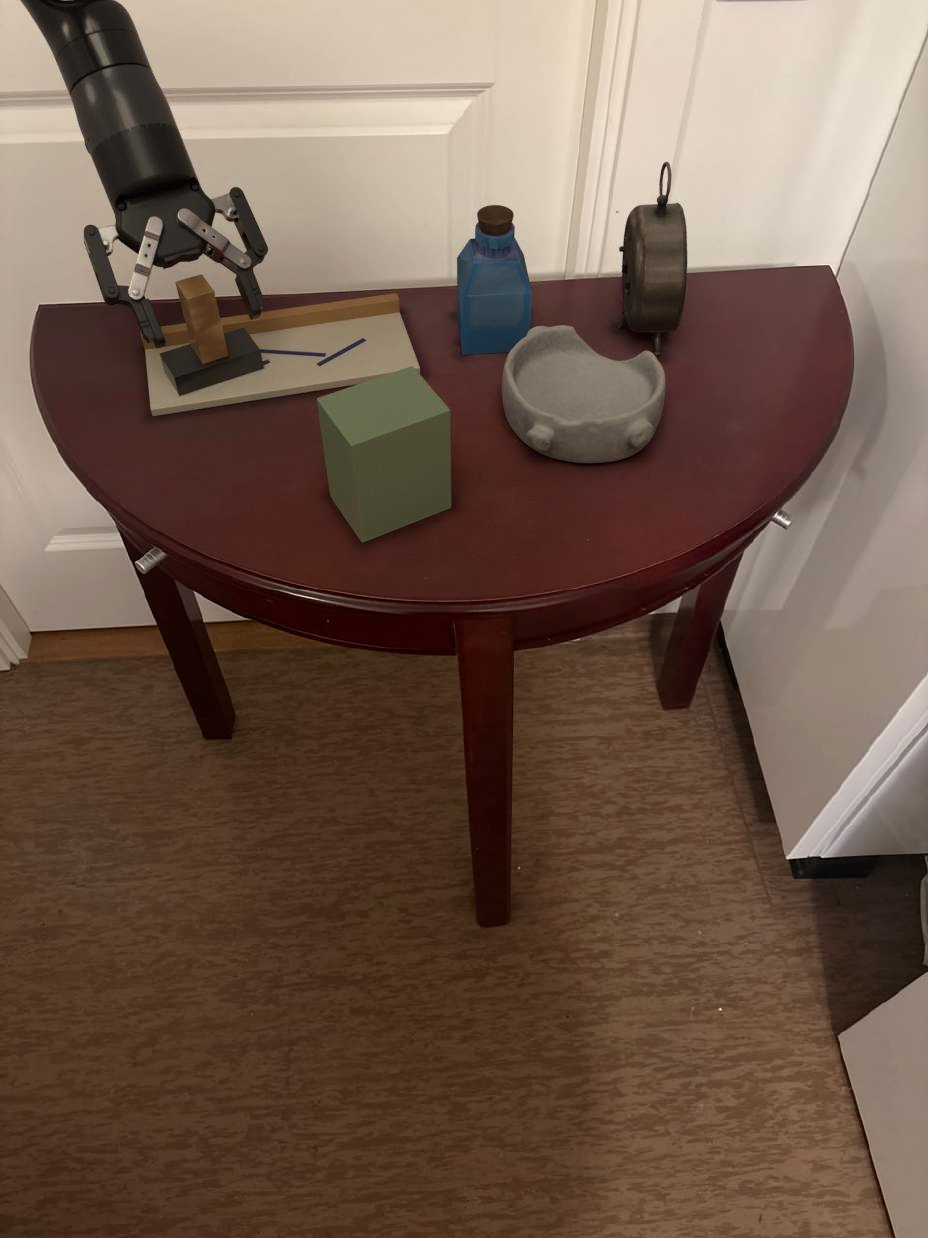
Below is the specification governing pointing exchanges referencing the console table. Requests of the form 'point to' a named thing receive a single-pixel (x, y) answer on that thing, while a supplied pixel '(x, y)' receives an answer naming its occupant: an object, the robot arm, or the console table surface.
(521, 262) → the perfume bottle
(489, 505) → the console table surface
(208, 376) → the eraser
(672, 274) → the alarm clock
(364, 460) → the block
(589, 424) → the dish
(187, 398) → the board
